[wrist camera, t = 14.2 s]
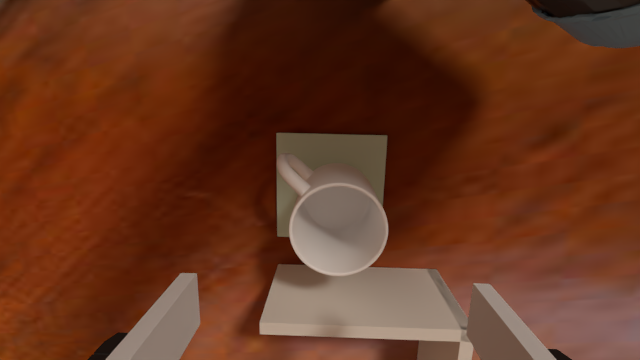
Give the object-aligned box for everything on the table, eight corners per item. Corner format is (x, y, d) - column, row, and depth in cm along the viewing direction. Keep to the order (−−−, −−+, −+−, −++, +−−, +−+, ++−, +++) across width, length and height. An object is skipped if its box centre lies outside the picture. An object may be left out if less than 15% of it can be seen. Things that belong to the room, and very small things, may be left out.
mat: (277, 132, 37) (276, 133, 36) (386, 135, 36) (387, 135, 36) (277, 234, 39) (277, 236, 39) (379, 237, 39) (380, 239, 39)
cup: (334, 245, 39) (336, 294, 29) (260, 173, 37) (235, 199, 27) (388, 198, 37) (409, 232, 28) (313, 121, 36) (307, 128, 26)
